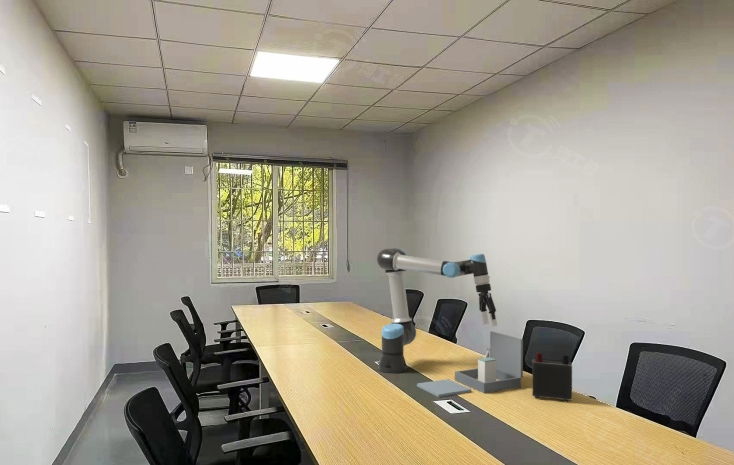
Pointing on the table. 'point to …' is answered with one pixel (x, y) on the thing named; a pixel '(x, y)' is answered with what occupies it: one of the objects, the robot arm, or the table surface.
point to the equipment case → (498, 365)
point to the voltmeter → (552, 378)
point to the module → (486, 369)
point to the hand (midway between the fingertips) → (490, 325)
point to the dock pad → (443, 388)
